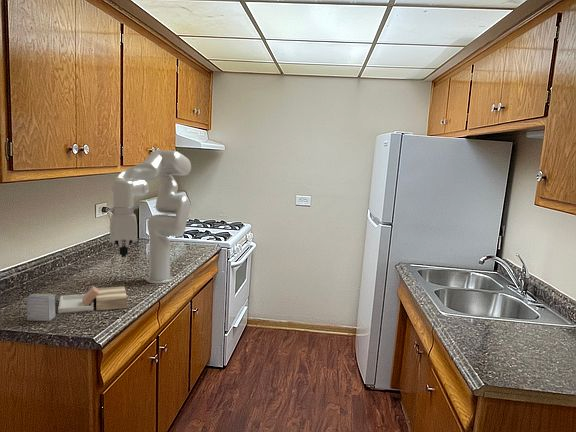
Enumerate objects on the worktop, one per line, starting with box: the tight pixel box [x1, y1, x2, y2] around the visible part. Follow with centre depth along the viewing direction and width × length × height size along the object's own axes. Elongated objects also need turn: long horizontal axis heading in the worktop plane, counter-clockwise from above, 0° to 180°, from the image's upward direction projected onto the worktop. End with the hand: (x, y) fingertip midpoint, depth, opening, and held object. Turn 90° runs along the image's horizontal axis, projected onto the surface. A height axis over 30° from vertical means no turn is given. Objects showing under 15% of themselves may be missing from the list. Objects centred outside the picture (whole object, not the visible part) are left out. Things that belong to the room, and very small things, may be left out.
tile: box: [82, 285, 99, 306], centre depth 174 cm, size 6×6×2 cm
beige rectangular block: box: [95, 286, 128, 311], centre depth 177 cm, size 16×11×4 cm
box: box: [57, 293, 95, 315], centre depth 173 cm, size 16×12×2 cm
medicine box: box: [26, 293, 56, 322], centre depth 157 cm, size 8×4×9 cm, turn 92°
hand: (123, 256), depth 177 cm, fingers closed
